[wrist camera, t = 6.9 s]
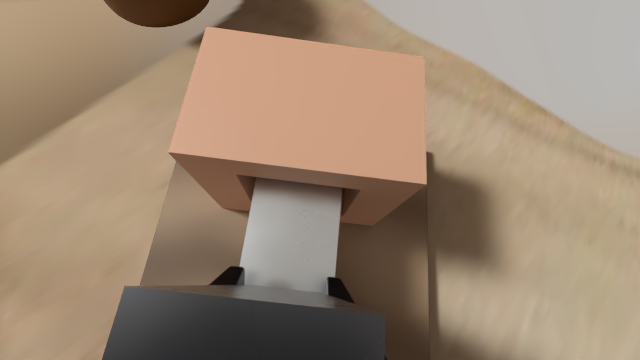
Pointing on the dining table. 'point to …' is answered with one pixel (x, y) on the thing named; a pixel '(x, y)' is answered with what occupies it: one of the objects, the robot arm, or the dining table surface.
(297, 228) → the tube
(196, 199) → the base board
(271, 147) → the socket block
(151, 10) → the mug
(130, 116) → the dining table surface
